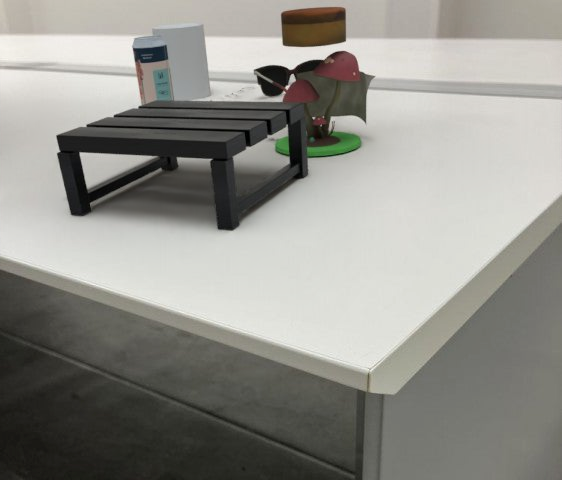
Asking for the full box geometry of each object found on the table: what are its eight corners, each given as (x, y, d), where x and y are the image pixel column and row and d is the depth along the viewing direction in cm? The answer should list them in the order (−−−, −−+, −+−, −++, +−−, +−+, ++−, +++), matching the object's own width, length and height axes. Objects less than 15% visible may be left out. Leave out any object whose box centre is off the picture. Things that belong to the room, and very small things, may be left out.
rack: (70, 215, 67) (52, 136, 63) (167, 166, 81) (157, 99, 77) (232, 230, 60) (223, 143, 56) (308, 174, 74) (305, 101, 70)
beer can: (155, 124, 103) (141, 35, 97) (183, 124, 101) (171, 34, 95) (139, 131, 99) (124, 40, 93) (168, 131, 98) (155, 38, 91)
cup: (200, 99, 119) (191, 22, 113) (219, 105, 113) (211, 24, 107) (156, 106, 116) (145, 27, 110) (173, 112, 110) (162, 29, 103)
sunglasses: (327, 88, 120) (327, 57, 117) (372, 108, 108) (373, 74, 105) (254, 98, 116) (252, 67, 113) (292, 120, 104) (291, 85, 101)
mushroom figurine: (349, 162, 77) (347, 12, 69) (254, 154, 83) (242, 16, 75) (387, 138, 86) (390, 3, 78) (299, 133, 91) (293, 6, 84)
